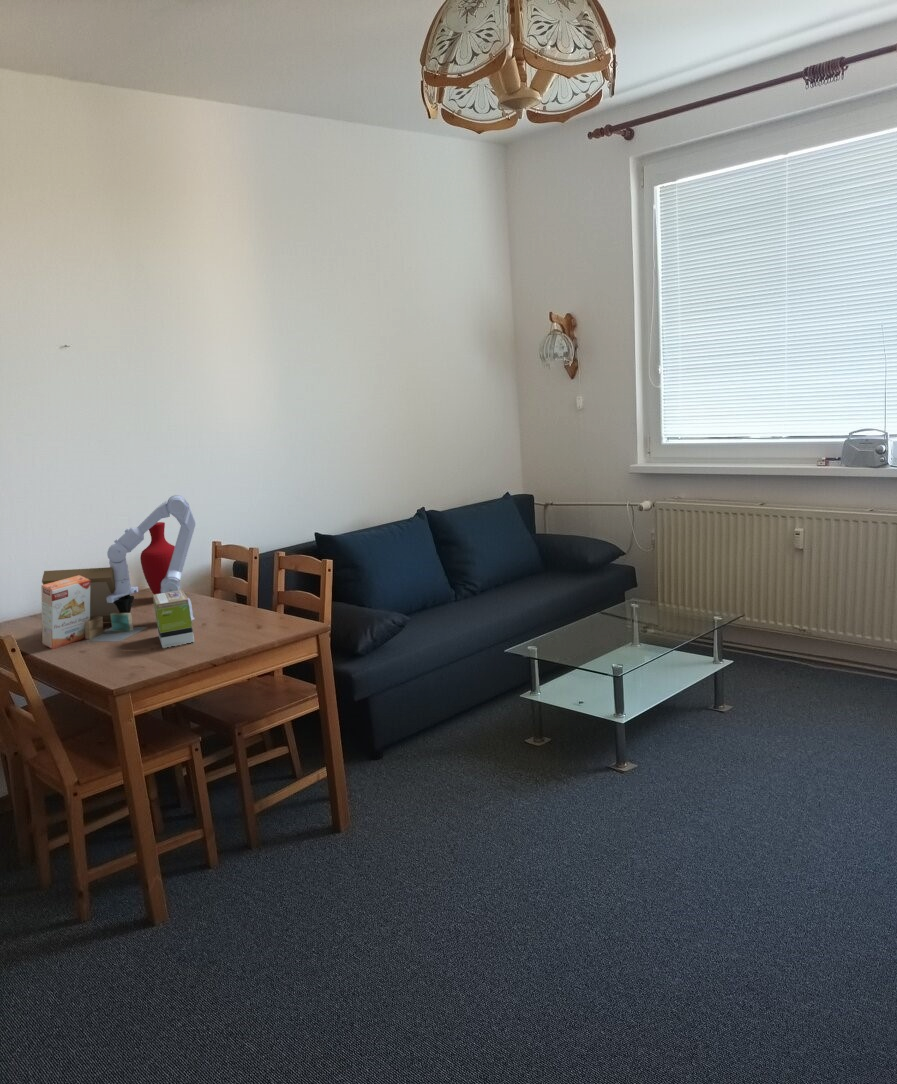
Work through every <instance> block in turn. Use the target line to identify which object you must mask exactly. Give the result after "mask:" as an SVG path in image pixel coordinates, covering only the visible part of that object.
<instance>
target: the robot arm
mask: <svg viewBox="0 0 897 1084" xmlns="http://www.w3.org/2000/svg"><path fill="white" fill-rule="evenodd" d="M170 516H173V518H175V519H176V521H177V522H178V524H180V527H179V531H178V535H177V538H176V540H175V544H174V546H175V548H174V552H173V555H172V559H171V562H170V566H169V569H168V571H167V575H166V577H165V578H164V579H163V580H162V582H161V593H167V592H173V591H179V590H181V586H180V584H181V583H180V582H181V579H182V573H183V570H184V566H185V563H186V559H187V556H188V553H189V549H190V546H191V542H192V538H193V535H194V531H195V528H196V520H195V517H194V514H193V512H192V509H191V507H190V504H189V502H188V501H187V500H186V499H185V498H184V497H183V496H182V495H177V494H174V495H171V496H170V497H169V498H168V499H167V500H165V501H164V502H162V503H161V504H160V505H158V506H157V507H156V508H155V509H154V510H153V511H152V512H151V513H150V514H149V515H148V516H147V517H146V518H144V520H143V521H142V522H141V523H140V524H139V525H138V526H136V527H134V526H133V527H130V528H126V529H125V530H124V533H123V535H121V536H120V537H119V538H118V539H115V540H114V541H113V542H114V543H113V544H111V545H110V546H109V548H108V549H107V551H106V552H107V553H106V554H107V558H108V559H109V561H108V563H109V567H113V571H114V580H115V589H116V590H115V591H114V593H113V594H111V595H110V596H108V597H106V598H107V603H114V604H115V605H116V606H117V608H118V610H119V612H120V613H131V610H132V604H133V602H134V600H135V596H134V595H132V594H135V593H139V587H138V586H131V580H130V579H131V578H130V574H129V572H130V571H129V565H128V564H127V563H128V562H127V554H128V553H129V554H130V553H131V552H132V551H133V550H134V549H135V548H136V547H137V546H138V545H139V544H141V543H142V541H144V540H145V533H147V532H149V529H150V528H151V527H152V526H153V525H155V524H156V523H157V522H160V520H161V519H167V518H170ZM187 598H188V602H189V608H190V615H191V621H193V620H195V617H194V612H193V606H192V601H191V599H190V598H189V597H187Z"/></svg>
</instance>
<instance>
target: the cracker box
mask: <svg viewBox="0 0 897 1084" xmlns="http://www.w3.org/2000/svg"><path fill="white" fill-rule="evenodd" d="M88 620H90V580H89V579H87V578H85V577H82V576H81V575H78V576H74V577H71V578H67V579H63V580H59V581H56V582H52V583H48V584H44V585H43V584H42V585H41V631H42V632H41V634H42V635H41V636H42V637H41V641H42V642H41V643H42V645H44V646H46V647H48V648H50V649H52V650H54V649H57V648H60V647H63V646H67V645H70V644H71V643H72V644H73V643H75V642H78V641H82V640H85V639H86V638H85V621H88Z"/></svg>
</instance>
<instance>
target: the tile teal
mask: <svg viewBox="0 0 897 1084" xmlns="http://www.w3.org/2000/svg"><path fill="white" fill-rule="evenodd" d="M110 616H111V622H110V623H111V628H112V630H113V631H132V630H133V627H134V625H133V616H132V612H130V613H112V614H110Z"/></svg>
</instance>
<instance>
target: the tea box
mask: <svg viewBox="0 0 897 1084" xmlns="http://www.w3.org/2000/svg"><path fill="white" fill-rule="evenodd" d="M188 598H189V597H187V594H185V592H184V590H183V589H180V590H179V591H173V592H167V593H161V594H155V595H154V594H152V601H153V602H152V603H153V608H154V613H155V620H156V627H157V633H158V638H159V641H160V644H161V647H162V649H167V647H169V648H172V647H171V646H175V647H177V646H176V645H180V646H182V645H181V644H186V643H191V642H194V643H195V636H194V631H193V624H192V620H191V615H190V608H189V602H188ZM191 644H192V643H191ZM186 645H187V644H186Z"/></svg>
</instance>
